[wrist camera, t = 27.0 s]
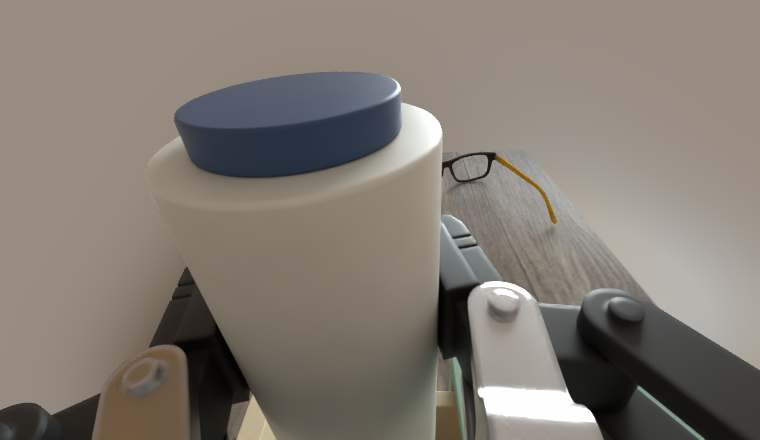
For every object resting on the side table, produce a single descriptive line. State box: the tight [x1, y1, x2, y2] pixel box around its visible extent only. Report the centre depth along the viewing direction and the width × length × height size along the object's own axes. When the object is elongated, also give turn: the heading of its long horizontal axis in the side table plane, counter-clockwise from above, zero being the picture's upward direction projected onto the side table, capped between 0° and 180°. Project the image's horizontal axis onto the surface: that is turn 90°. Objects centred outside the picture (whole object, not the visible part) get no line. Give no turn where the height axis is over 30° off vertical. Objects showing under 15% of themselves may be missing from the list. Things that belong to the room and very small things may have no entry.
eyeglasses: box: [442, 152, 557, 224], centre depth 42 cm, size 14×14×4 cm
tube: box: [144, 72, 443, 440], centre depth 8 cm, size 4×4×11 cm
